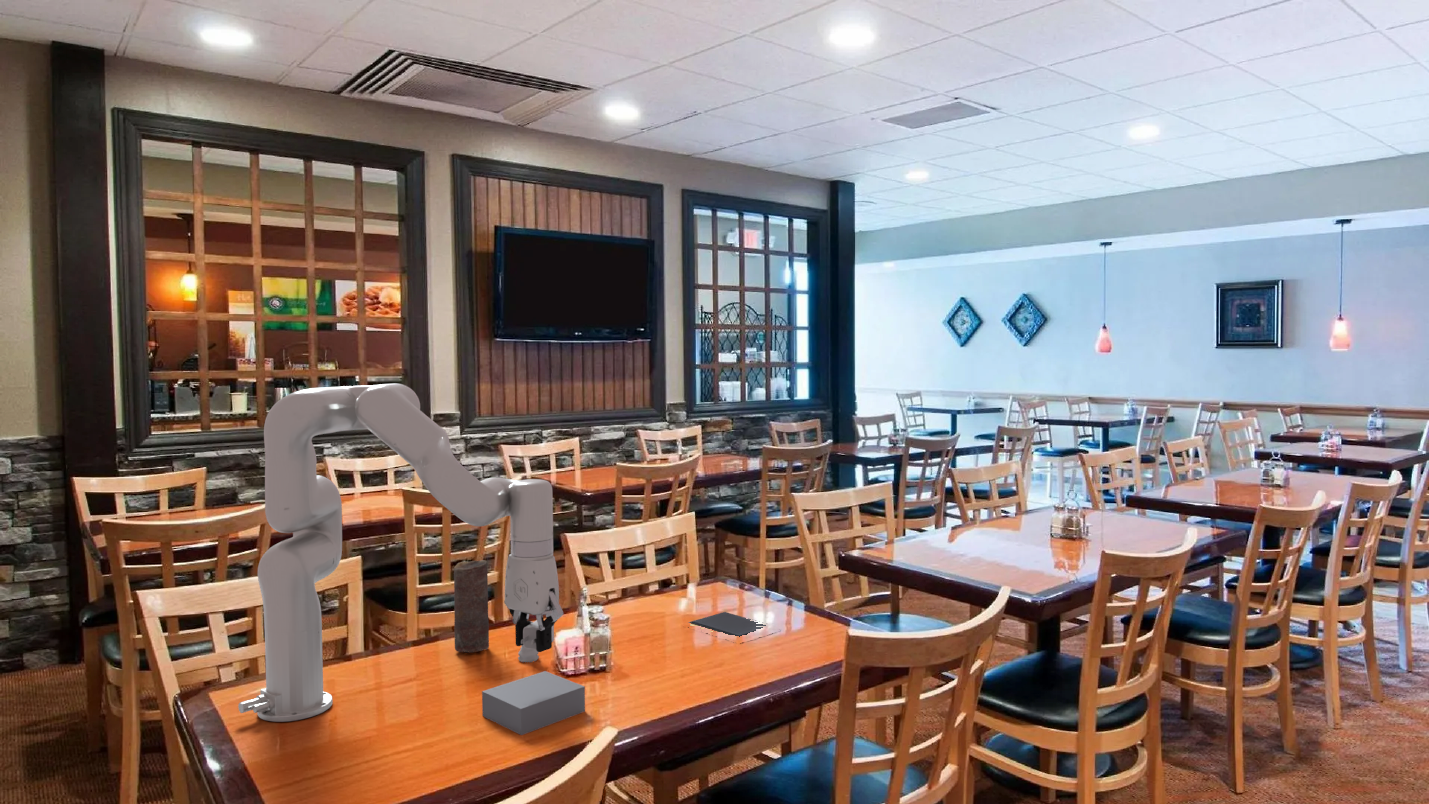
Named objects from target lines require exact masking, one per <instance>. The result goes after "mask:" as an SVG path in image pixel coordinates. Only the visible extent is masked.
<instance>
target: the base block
mask: <svg viewBox="0 0 1429 804" xmlns="http://www.w3.org/2000/svg"><path fill="white" fill-rule="evenodd" d="M585 691H586V687H585V686H584V685H582V684H580V683H577V682H574V681H572V680H569V679H567V678H564V677H561V676H559V675H557V674H553V673H551V672H549V671H546V670H544V671H541V672H537V673H535V674H532V675H529V676H526V677H522V678H519V679H516V680H512V681H510V682H506V683H503V684H501V685H497V686H495V687H491V688H488V689H486V690H482V691H481V697H482V700H481V704H482V707H481V709H482V717H483V716H484V718H486V719H487V720H489V719H490V721H492V722H494V723H495V722H496V724H498V725H499V726H502V727H503V728H506V729H508V730H510V731H512V732H514V733H515V734H518V735H519V736H523V735H526V734H528V733H531V732H533V731H536V730H539V729H543V728H544V727H548V726H550V725H553V724H556V723H558V722H561V721H563V720H566V719H568V718H571V717H573V716H577V715H579V714H582V713H585V712H586V693H585Z"/></svg>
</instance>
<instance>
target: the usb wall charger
mask: <svg viewBox="0 0 1429 804" xmlns="http://www.w3.org/2000/svg"><path fill="white" fill-rule="evenodd" d="M532 622H533V623H531V624H530V625H528V626H526V627H525V628H524V629H523V639H522V640H521V644H523V645H524V647H525V648H526V649H536V630H539V628H538V623H537V619H536V620H535V621H532ZM554 640H555V626H554V627H552V643H553V642H554Z"/></svg>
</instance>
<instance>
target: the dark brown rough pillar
mask: <svg viewBox="0 0 1429 804" xmlns="http://www.w3.org/2000/svg"><path fill="white" fill-rule="evenodd" d="M453 571H454V572H453V580H454V581H453V582H454V583H453V584H454V586H453V588H454V589H453V591H454V595H453V597H454V599H453V601H454V613H453V615H454V623H453V624H454V649H455V651H456V652H458V653H467V654H468V653H477V652H481V651H484V650H488V649H489V647H490V642H489V641H490V638H489V637H490V629H489V625H490V624H489V585H488V584H489V583H488V580H489V579H488V578H489V577H488V562H487V560H485V559H484V560H483V559H482V560H472V561H461V562H458V563H456V565H455V566H454V567H453Z"/></svg>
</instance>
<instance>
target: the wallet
mask: <svg viewBox="0 0 1429 804" xmlns="http://www.w3.org/2000/svg"><path fill="white" fill-rule="evenodd" d="M746 618H747V617H744V616H741V615H737V614H733V613H729V612H727V611H723V612H720V613H715V614H713V615H709V616H705V617H703V618H698V619H695V620H692V621H689V622H688V623H691V624H690V626H701V627H705V628H707V629H712V630H714V631H717V632H723V633H725V634H728V635H735V636H739V637H740V636H742V635H747V634H748V633H750V632H754V631H756V629H761V628H763V627H756V626H766V625H763V624H756V623H758V622H754V621H750V620H751V619H752V618H748V619H746ZM700 629H704V628H700ZM710 632H713V631H710Z"/></svg>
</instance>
